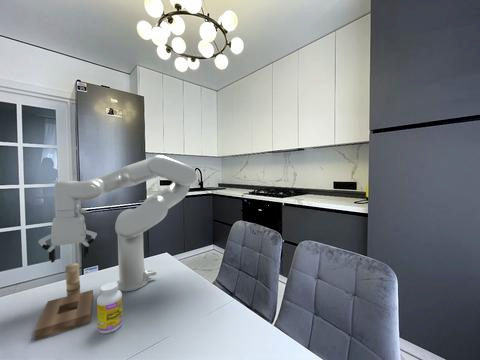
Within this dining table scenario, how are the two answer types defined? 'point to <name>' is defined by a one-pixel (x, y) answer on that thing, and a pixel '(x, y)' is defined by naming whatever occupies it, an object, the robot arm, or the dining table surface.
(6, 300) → the dining table surface
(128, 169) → the robot arm
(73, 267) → the peg
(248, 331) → the dining table surface
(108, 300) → the supplement bottle
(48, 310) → the board
